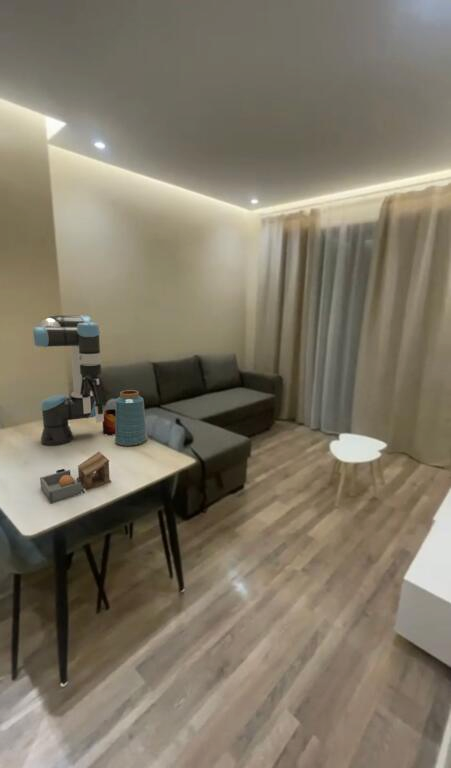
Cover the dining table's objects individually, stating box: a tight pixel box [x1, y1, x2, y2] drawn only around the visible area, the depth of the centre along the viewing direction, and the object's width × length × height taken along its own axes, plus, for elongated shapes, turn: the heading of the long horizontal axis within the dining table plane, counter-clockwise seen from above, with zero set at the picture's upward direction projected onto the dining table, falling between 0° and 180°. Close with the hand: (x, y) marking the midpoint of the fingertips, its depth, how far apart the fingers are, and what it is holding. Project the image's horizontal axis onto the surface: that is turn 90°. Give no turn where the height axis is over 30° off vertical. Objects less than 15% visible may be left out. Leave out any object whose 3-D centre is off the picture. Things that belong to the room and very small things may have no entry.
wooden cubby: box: [76, 451, 112, 491], centre depth 138 cm, size 11×10×10 cm
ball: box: [59, 475, 74, 487], centre depth 132 cm, size 5×5×5 cm
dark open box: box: [55, 468, 66, 474], centre depth 142 cm, size 3×3×2 cm
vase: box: [114, 389, 148, 447], centre depth 179 cm, size 16×16×27 cm
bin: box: [39, 469, 83, 504], centre depth 131 cm, size 14×11×4 cm
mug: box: [102, 408, 116, 436], centre depth 194 cm, size 10×14×12 cm
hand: (93, 417), depth 135 cm, fingers open, 13 cm apart
